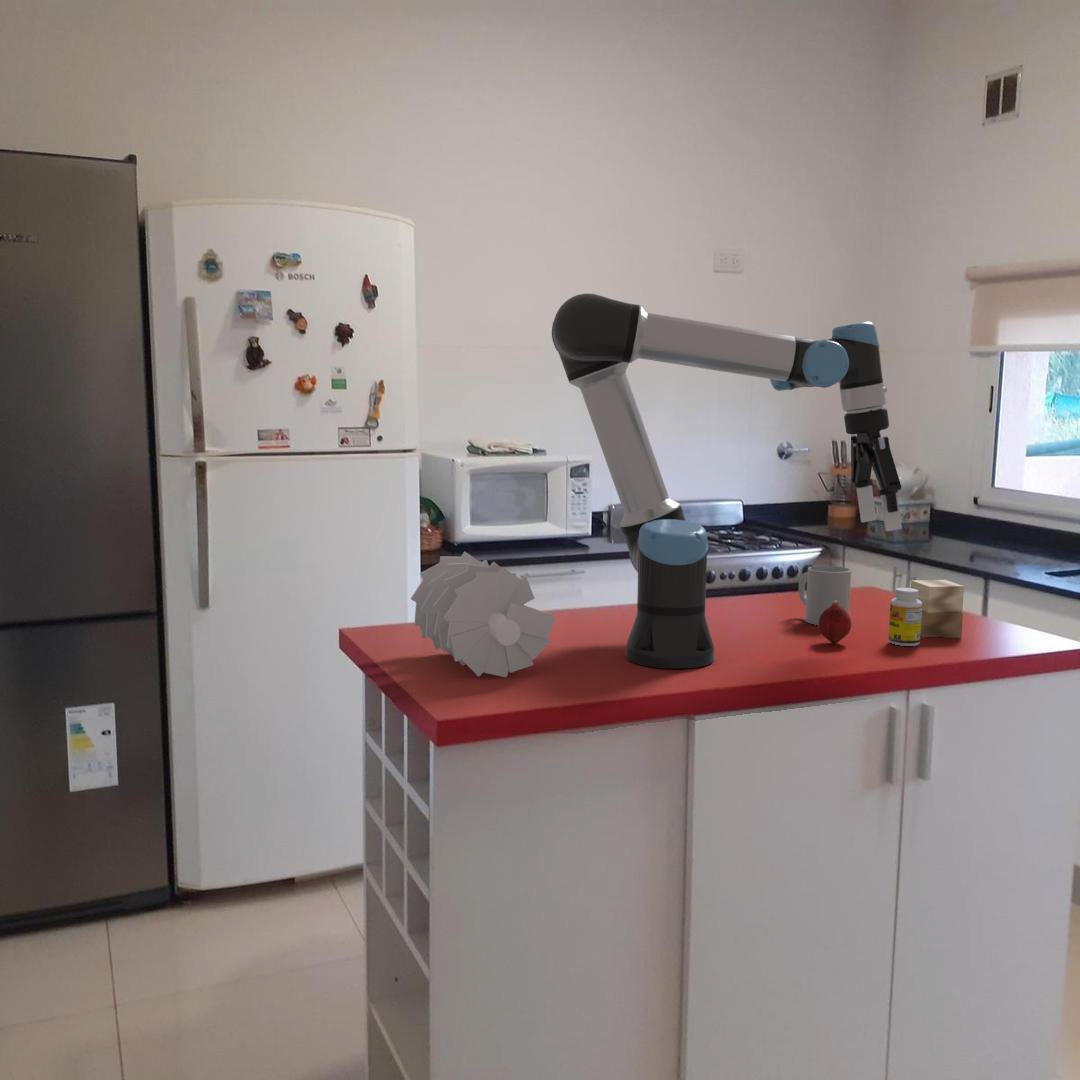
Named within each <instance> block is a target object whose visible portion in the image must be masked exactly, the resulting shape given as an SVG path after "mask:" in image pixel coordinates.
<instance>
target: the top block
mask: <svg viewBox="0 0 1080 1080" xmlns="http://www.w3.org/2000/svg"><path fill="white" fill-rule="evenodd" d="M910 582H911V583H910V584H911V585H910V588H912V589H917V590H918V600H920V601H921V602H922V611H925V612H927V613H943V612H962V613H963V611H964V609H963V606H964V593H965V586H964V585H962V584H958V583H956V582H952V581H949V580H947V579H922V580H921V579H915V580H913V579H912V580H910Z"/></svg>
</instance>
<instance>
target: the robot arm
mask: <svg viewBox="0 0 1080 1080" xmlns="http://www.w3.org/2000/svg"><path fill="white" fill-rule="evenodd" d="M831 334H832V336H831V338H829V339H820V340H816V339H811V338H805V337H797V336H796V337H795V336H794V335H787V334H781V333H780V334H779V333H774V332H767V331H761V330H756V329H749V328H744V327H737V326H730V325H724V324H719V323H717V324H716V323H711V322H707V321H699V320H694V319H688V318H682V317H675V316H670V315H669V316H668V315H663V314H656V313H651V312H646V311H645V310H644V308H643V306H642V305H640V304H634V303H628V302H626V301H625V302H624V301H620V300H617V299H612V298H608V297H606V296H602V295H600V294H595V293H580V294H576V295H574V296H572V297H570V298H568V299H567V300H566V301H565V302H563V303H562V304H561V306H560V307H559V308H558V309H557V312H556V314H555V316H554V319H553V322H552V325H551V339H552V344H553V347H554V348H555V350H556V351H557V353H558V355H559V357H560V360H561V363H562V367H563V369H564V372H565V374H566V378H567V380H568V383H569V384H570V385H573V386H574V387H576V388H578V389H579V390H580V392H581V394H582V397H583V401H584V403H585V405H586V409H587V411H588V414H589V417H590V420H591V422H592V425H593V428H594V431H595V435H596V437H597V440H598V443H599V445H600V449H601V450H602V454H603V457H604V460H605V462H606V465H607V468H608V471H609V473H610V477H611V479H612V482H613V484H614V488H615V490H616V493H617V496H618V499H619V503H620V504H621V507H622V510H623V517H622V518H621V520H620V523H619V526H620V529H621V532H622V534H623V535H622V536H623V538H624V541H625V543H626V546H627V549H628V552H629V554H628V556H629V559H630V560H629V561H630V562H631V564H632V566H633V568H634V570H635V571H636V573H637V599H636V600H637V602H636V605H637V606H636V607H637V608H636V616H635V619H634V621H633V624H632V628H631V631H630V632H629V635H628V637H627V641H626V645H625V658H626V659H627V660H628V661H630V662H632V663H634V664H637V665H640V666H646V667H650V668H658V669H659V668H660V669H674V670H675V669H677V670H678V669H692V668H693V669H694V668H700V667H705V666H709V665H710V664H712V663H714V661H715V645H714V642H713V638H712V636H711V631H710V628H709V624H708V622H707V621H708V620H707V618H706V599H707V597H706V596H707V595H706V593H707V566H708V565H707V564H708V563H707V562H708V551H709V541H708V533H707V531H706V529H705V528H704V527H703V526H702V525H700V524H698V523H696V522H691V521H689V520H686V517H685V514H684V511H683V509H682V505H681V503H680V502H678V501H676V500H674V499H672V498H671V497H670V496H669V494H668V491H667V488H666V484H665V482H664V478H663V477H662V473H661V471H660V468H659V464H658V461H657V459H656V456H655V453H654V450H653V448H652V445H651V442H650V440H649V436H648V433H647V431H646V427H645V425H644V422H643V419H642V416H641V413H640V410H639V407H638V405H637V402H636V399H635V395H634V393H633V390H632V388H631V384H630V382H629V378H628V375H627V369H628V367H629V365H630V364H632V363H633V362H634V361H636V360H637V359H642V360H648V361H652V362H653V361H654V362H662V363H668V364H673V365H680V366H684V367H692V368H698V369H704V370H705V369H706V370H712V371H718V372H725V373H730V374H731V373H732V374H735V375H736V374H737V375H743V376H750V377H756V378H763V379H769V380H770V384H771V386H772V388H773V389H774V390H775V391H778V392H780V391H781V392H783V391H788V390H789V391H793V390H794V389H800V388H814V387H817V388H822V389H824V388H826V389H827V388H830V387H832V386H834V385H836V384H838V383H839V391H840V392H839V394H840V400H841V407H842V411H844V412H846V413H845V414H844V415H843V418H844V426H845V432H846V434H848V435H851V436H850V444H851V466H850V467H851V474H850V475H851V478H850V481H851V483H852V484H854V486H855V488H856V495H857V501H858V503H857V504H858V509H859V517H860V522H861V523H866V522H867V523H869V522H873V521H877V515H876V514H877V513H876V506H875V505H876V504H875V499H874V492H873V486H872V485H874V483H873V480H872V478H871V475H872V470H873V473H874V475H875V477H876V480H877V482H878V485H879V487H880V490H879V492H878V496H879V497H880V502H881V510H882V517H883V524H884V531H885V532H892V531H897V530H902V529H903V526H902V518H901V511H900V506H899V499H898V498H899V496H898V492H899V491H900V490H902V485H901V482H900V477H899V474H898V471H897V468H896V465H895V461H894V458H893V454H892V451H891V447H890V439H889V437H888V436H887V435H886V436H881V431H884V430H887V429H888V428H889V427H890V421H889V414H888V409H887V408H886V407H883V406H885V404H887V401H886V394H885V393H887V392H888V388H887V387H884V380H883V379H884V378H883V371H882V370H883V369H882V363H881V353H880V344H879V339H878V335H877V334H878V333H877V330H876V326H875V324H874V323H873V322H871V321H863V322H857V323H852V324H851V323H850V324H846V325H841V326H840V325H839V326H835V327H834V328H833V329H832V332H831Z"/></svg>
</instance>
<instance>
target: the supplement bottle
mask: <svg viewBox="0 0 1080 1080" xmlns="http://www.w3.org/2000/svg"><path fill="white" fill-rule="evenodd" d="M889 604H890V605H889V606H890V607H889V624H888V626H889V627H888V642H889V643H890V644H891V643H892V645H893V644H895V645H894V646H897V645H900V646H899V647H903V646H913V647H917V646H919V645H920V643H921V637H920V635H921V619H922V602H921V601H920V600H918V590H917V589H912V588H911V587H897V588H895V594H894V598H892V599H890V603H889Z"/></svg>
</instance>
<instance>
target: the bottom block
mask: <svg viewBox="0 0 1080 1080" xmlns="http://www.w3.org/2000/svg"><path fill="white" fill-rule="evenodd" d="M963 616H964V613H963V611H962V612H943V613H927V612H925V611H922V619H921V635H920V636H921V637H943V638H942V639H962V634H963V621H964V620H963V619H964V618H963ZM921 637H920V638H921Z"/></svg>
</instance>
